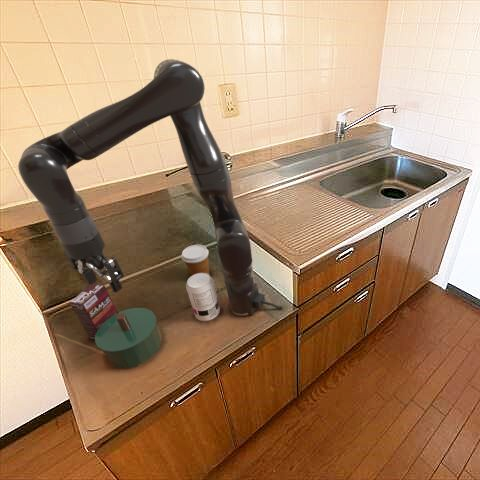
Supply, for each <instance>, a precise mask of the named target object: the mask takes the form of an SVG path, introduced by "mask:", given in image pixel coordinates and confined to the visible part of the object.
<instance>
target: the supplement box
mask: <svg viewBox="0 0 480 480" xmlns="http://www.w3.org/2000/svg"><path fill="white" fill-rule="evenodd" d="M111 297H112V296H110V294H109V291H108V288H107V287H106V285H104V284H99V283H95V282H94V283H93V284H89V286H88V287H86V288H85V289H84V290H83V291H82V292H81V293H79V294H78V295H77V296H75V298H73V299H72V300H70V301H69V304H70V306H71V308H72V309H73V312H74V313H75V315H76V317H77V318H78V320H79V321H80V323H81V325H82V327H83V329H84V330H85V332H86V334H87V335H88V337H89V338H90V339H94V340H95V335H96V333H97V331H98V329H99V327H100V326H101V325H102V324H103V323H104V322H105V321H106V320H107V319H109V318H110V317H112V316H113V315H115V314H117V313H119V312H118V310H117V308H116V306H115V304H114V301H113V300H112V298H111Z"/></svg>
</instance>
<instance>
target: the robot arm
mask: <svg viewBox="0 0 480 480" xmlns="http://www.w3.org/2000/svg"><path fill="white" fill-rule="evenodd" d="M205 87H206V86H205V81H204V78H203V76H202V75H201V74H200V72H199V71H198V70H197V68H195V67H194V66H192V65H191V64H189V63H186V62H185V61H183V60H180V59H179V60H178V59H173V58H169V59H165V60H162V61H161V62H159V63H158V65H156V68H155V70H154V72H153V79H152V80H150V82H148V83H147V84H146V85H145V86H144V87H142V88H141V89H139V90H138V91H136V92H135V93H132V94H131V95H129V96H127V97H125V98H123V99H121V100H119V101H116V102H113V103H110V104H109V105H106V106H103V107H102V108H100V109H96V110H94V111H93V112H91V113H89V114H88V115H85V116H84V117H81V118H80V119H78V120H77V121H75V122H73V123H72V124H70V125H69V126H67V127H65V128H64V129H63V130H61V131H59V132H55V133H53V134H51V135H48V136H46V137H44V138H42V139H39V140H37V141H35V142H34V143H32V144H30V145H29V146H28V147H26V148H25V149H24V150H23V152H22V154H21V156H20V159H19V161H18V164H17V169H18V171H19V172H18V173H19V175H20V177H21V180H22V181H23V183H24V184H25V187H26V188H27V189H28V190H29V191H30V192H31V194H32V195H33V196H34V198H35V199H36V200H37V201H38V202H39V203H40V204H41V206H42V209H43V210H44V213H45V214H46V216H47V218H48V220H49V221H50V224H51V225H52V226H51V227H52V230H53V231H54V233H55V236H56V237H57V239H58V241H59V242H60V245H61V247H62V248H63V249H64V255H65V256H66V258H67V260H68V262H69V264H70V267H71V268H72V270H74V271H78V273H80V274H82V276H83V278H84V280H85V281H86V284H87V285H91V284H93V283H94V284H95V283H96V282H97V280H98V277H100V278H101V277H102V278H103V279H104V280H106V282H107V283H108V285H109V287H110V289H111V291H112V293H115V294H116V293H118V292H120V291H121V290H122V288H123V286H122V284H121V281H120V279H122V278H124V276H125V274H124V273H123V271H122V268H121V267H120V265H119V262H118V260H117V258H116V257H114V256H111V257H110V258H107V257H106V255H105V254H104V253H103V251H104V248H105V246H106V245H105V242H104V239H103V237H102V235H101V233H100V231H99V229H98V226H97V224H96V222H95V220H94V218H93V217H92V215H91V214H90V212H89V210H88V208H87V206H86V203H85V201H84V199H83V197H82V196H81V194H80V193H79V192H78V191H77V190H75V188H74V186H73V183H72V181H71V179H70V177H69V174H68V171H67V170H69V169H70V168H72V167H73V166H75V165H76V164H78V163H80V162H82V161H92V160H95V159H96V158H97V157H100V156H102V155H103V154H104V153H106V152H107V151H110V150H111V149H113V148H114V147H116V146H117V145H119V144H121V143H122V142H124V141H125V140H127V139H129V138H130V137H132V136H133V135H135V134H137V133H139V132H140V131H142V130H144V129H146V128H147V127H149V126H151V125H153V124H155V123H157V122H159V121H161V120H163V119H166V118H168V117H170V118H171V121H172V123H173V125H174V128H175V130H176V133H177V137H178V141H179V144H180V148H181V150H182V151H181V152H182V154H183V157H184V161H185V163H186V167H187V169H188V172H189V175H190V177H191V179H192V182H193V185H194V187H195V189H196V191H197V193H198V194H199V196H200V198H201V199H202V201H203V202H204V203H205V204H206V206H207V208H208V210H209V212H210V215H211V218H212V219H211V220H212V222H213V227H214V233H215V241H216V246H217V253H218V256H219V257H218V258H219V262H220V266H221V270H222V274H223V279H224V283H225V288H226V293H227V297H228V302H229V308H230V311H231V313H232V314H233V315H235V316H238V317H247V316H253V315H254V313H255V312H256V311H257V309H258V310H260V309H261V308H262V306H264V305H267V306H272V307H274V308H276V309H279V310H282V309H283V306H279V305H277V304H275V303H272V302H269V301H266V298H265V294H264V293H261V292H260V291H259V285H258V283H256V282H255V276H254V267H253V256H252V255H253V254H252V247H251V240H250V237H249V234H248V230H247V227H246V226H245V225H246V224H245V223H244V222H243V221H244V220H242V217H241V216H240V215H241V214H240V213H239V211H238V209H237V208H238V207H237V206H236V203H235V199H234V191H233V185H232V181H231V177H230V173H229V170H228V167H227V163H226V160H225V157H224V156H223V155H224V154H223V153H222V151H221V148H220V146H219V144H218V142H217V140H216V139H215V137H214V135H213V133H212V131H211V129H210V127H209V125H208V123H207V120H206V118H205V115H204V112H203V108H202V104H201V101H202V100H203V98H204V96H205V89H206V88H205ZM76 262H77V263H76ZM103 269H105V270H103ZM95 273H96V274H95ZM96 275H97V276H98V277H97V276H96Z"/></svg>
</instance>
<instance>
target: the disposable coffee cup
mask: <svg viewBox="0 0 480 480" xmlns="http://www.w3.org/2000/svg"><path fill="white" fill-rule="evenodd" d="M209 251H210V250H209V249H208V248H207V247H206V246H205V245H203V244H191V245H189V246H186V247H185V248H184V249H183V250H182V252H181V260H182V261H183V262H184V263H185V265H186V268H187V269H188V272H189V274H190V277H191V276H192V275H194V274H197V273H207V274H209V275H210V265H209Z"/></svg>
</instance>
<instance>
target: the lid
mask: <svg viewBox="0 0 480 480" xmlns="http://www.w3.org/2000/svg"><path fill="white" fill-rule="evenodd" d="M156 322H157V317H156V314H155V313H154V312H153V310H150V309H149V308H146V307H132V308H127V309H124V310H120V311H119V312H118V313H117V314H115V315H113V316H112V317H110V318H109V319H107V320H106V321H105V322H104V323H103V324H102V325H101V326H100V327H99V329H98V331H97V333H96V335H95V339H94V342H95V345H96V346H97V348H98V349H100V350H101V351H102V352H103V351H106V352H120V351H124V350H127V349H130V348H132V347H135V346H136V345H138V344H140V343H141V342H143V341H144V340H145V339H146V338H147V337H149V335H150V334H151V333H152V332H153V330H154V328H155V326H156Z"/></svg>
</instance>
